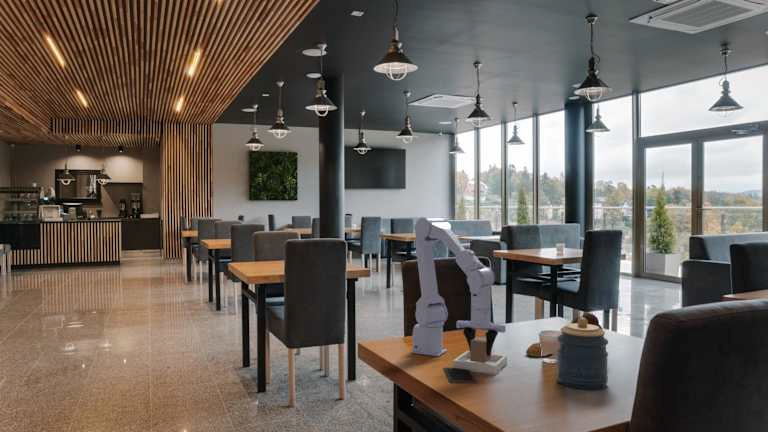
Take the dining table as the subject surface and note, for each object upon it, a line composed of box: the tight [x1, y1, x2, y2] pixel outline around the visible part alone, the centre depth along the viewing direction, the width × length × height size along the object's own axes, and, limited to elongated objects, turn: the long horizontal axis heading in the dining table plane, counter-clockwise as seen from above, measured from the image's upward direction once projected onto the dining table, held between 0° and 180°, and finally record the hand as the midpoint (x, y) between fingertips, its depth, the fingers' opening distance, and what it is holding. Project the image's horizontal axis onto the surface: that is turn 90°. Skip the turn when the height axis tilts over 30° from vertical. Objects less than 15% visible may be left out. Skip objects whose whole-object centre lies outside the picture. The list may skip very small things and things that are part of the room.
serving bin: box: [452, 350, 508, 376], centre depth 164 cm, size 13×13×2 cm
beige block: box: [469, 336, 491, 363], centre depth 164 cm, size 4×6×6 cm
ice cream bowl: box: [570, 312, 606, 337], centre depth 170 cm, size 11×11×15 cm
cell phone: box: [443, 366, 477, 384], centre depth 155 cm, size 7×14×1 cm, turn 1°
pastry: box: [525, 341, 541, 358], centre depth 178 cm, size 9×7×4 cm
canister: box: [556, 318, 609, 391], centre depth 149 cm, size 13×13×18 cm
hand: (480, 354), depth 164 cm, fingers closed on beige block, 4 cm apart
